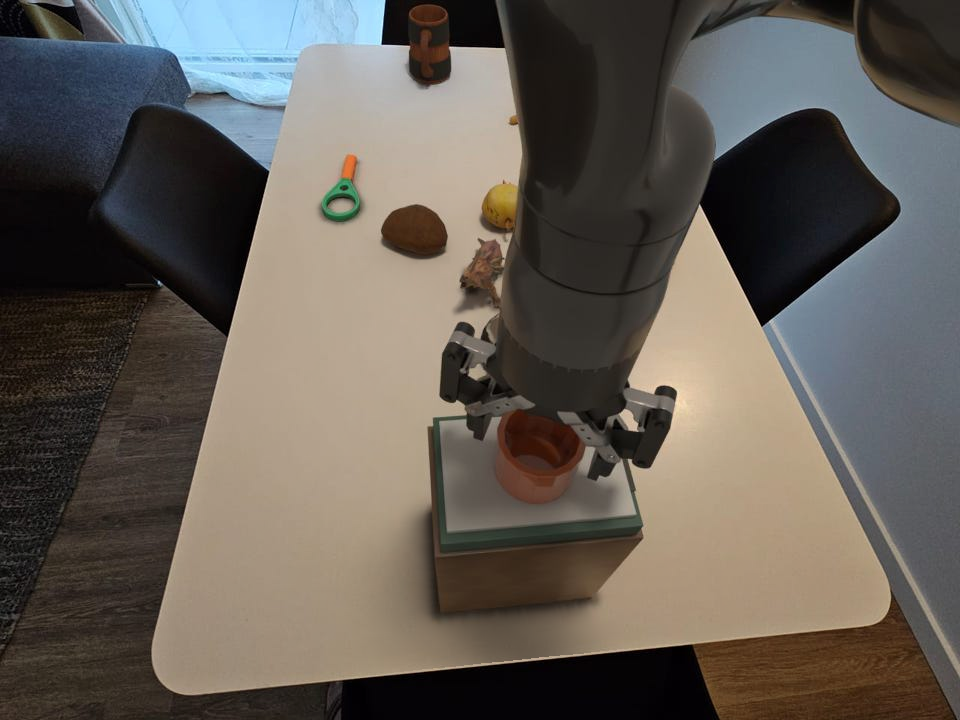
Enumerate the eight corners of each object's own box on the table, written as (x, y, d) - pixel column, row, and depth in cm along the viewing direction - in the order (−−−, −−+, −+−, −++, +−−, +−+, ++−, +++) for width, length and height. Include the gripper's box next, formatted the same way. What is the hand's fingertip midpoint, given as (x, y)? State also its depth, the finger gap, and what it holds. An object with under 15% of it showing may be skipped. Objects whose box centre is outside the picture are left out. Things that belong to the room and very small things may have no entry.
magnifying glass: (357, 222, 91) (355, 214, 90) (319, 220, 91) (317, 212, 90) (369, 163, 100) (368, 155, 99) (335, 162, 100) (333, 153, 98)
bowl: (582, 444, 45) (595, 413, 41) (561, 516, 42) (573, 490, 37) (508, 419, 46) (513, 386, 42) (482, 487, 43) (485, 458, 38)
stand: (572, 497, 66) (610, 412, 50) (592, 597, 60) (644, 538, 43) (434, 509, 65) (427, 426, 48) (440, 613, 58) (434, 557, 42)
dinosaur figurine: (499, 322, 81) (504, 277, 73) (458, 317, 81) (459, 271, 73) (509, 254, 88) (514, 207, 81) (472, 249, 89) (473, 202, 81)
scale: (607, 416, 49) (613, 400, 47) (638, 534, 44) (647, 523, 41) (433, 428, 48) (432, 413, 46) (441, 552, 42) (440, 542, 40)
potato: (389, 223, 91) (385, 187, 86) (453, 233, 91) (453, 198, 85) (377, 253, 87) (372, 218, 82) (443, 264, 87) (442, 229, 81)
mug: (403, 92, 113) (399, 31, 104) (412, 61, 120) (409, 1, 110) (447, 96, 113) (446, 35, 103) (453, 64, 120) (453, 4, 110)
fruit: (534, 216, 85) (532, 173, 91) (490, 205, 84) (491, 162, 89) (518, 247, 91) (517, 205, 96) (477, 238, 89) (478, 195, 95)
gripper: (413, 316, 27) (427, 460, 41) (712, 410, 25) (622, 531, 38) (468, 218, 31) (465, 378, 45) (730, 291, 29) (643, 437, 42)
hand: (537, 448), depth 41 cm, fingers open, 8 cm apart
